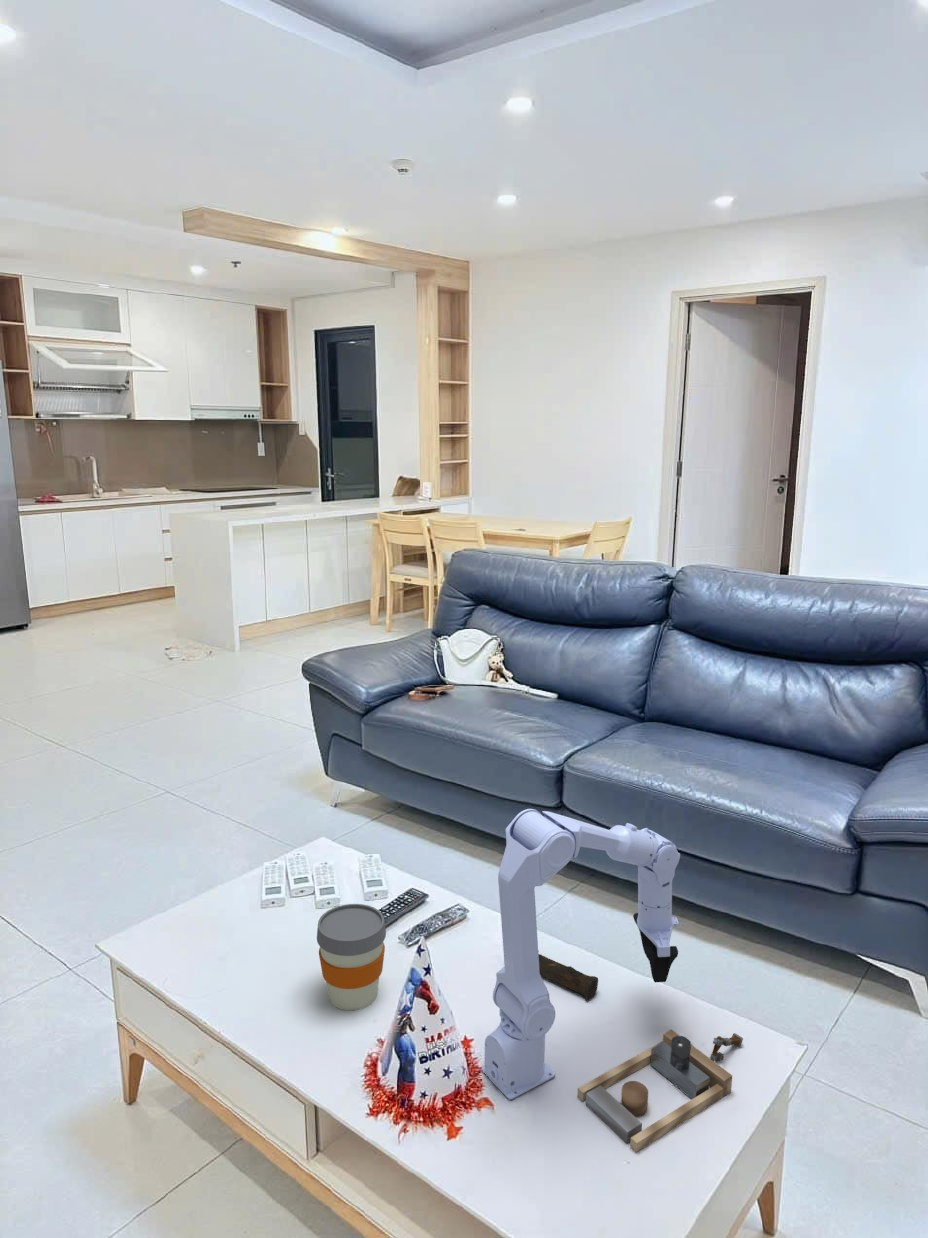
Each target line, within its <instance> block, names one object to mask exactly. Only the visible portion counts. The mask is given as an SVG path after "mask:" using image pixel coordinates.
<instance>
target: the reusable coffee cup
mask: <svg viewBox="0 0 928 1238" xmlns="http://www.w3.org/2000/svg"><path fill="white" fill-rule="evenodd" d="M386 937H387V929H386V921H385V917H384V915H383V913H382V912H381V911H380V910H379V909H377V908H376V907H374V906H371V905H368V904H362V903H347V904H342V905H337V906H334V907H332V908H330V909H328V910H327V911H325V912H324V913H322V915H320V917H319V920H318V922H317V930H316V941H317V944H318V946H319V949H318V956H319V962H320V966H321V967H320V969H321V974H322V978H323V980H324V981H325V984H326V986H327V987H326V988H327V994H328V999H329V1003H331V1004H332V1006H334V1007H336V1008H338V1009H341V1010H346V1011H355V1010H356V1011H357V1010H361V1009H364V1008H366V1007H368V1006H370V1005H371V1004H372V1003H374V1001H375V1000H376V998H377V997H378V989H379V981H380V977H381V975H382V972H383V968H384V959H385V951H386V949H385V948H386V946H385V943H384V941H385V939H386Z"/></svg>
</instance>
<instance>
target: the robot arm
mask: <svg viewBox="0 0 928 1238" xmlns="http://www.w3.org/2000/svg"><path fill="white" fill-rule="evenodd" d="M542 813H543V814H542ZM542 813H541V812H540V811H538V810H537V809H536V808H535V809H533V808H527V809H524V810H522V811H520V812H519V813H518V814H516V816H515V817H514V818H513V819H512V821H511V822H510V823H509V824H508V825H507V827H505V830H504V831H505V832H504V833H505V842H506V843H505V844H506V845H505V849H504V853H503V855H502V859H501V862H500V866H499V870H498V873H497V874H498V875H497V876H498V877H497V879H498V880H497V881H498V883H497V884H498V895H499V907H500V921H501V934H502V947H503V960H504V961H503V962H504V963H503V964H504V967H502V968H500V969H499V970H498V971H497V972H496V974H495V977H496V980H495V981H496V983H495V985H494V988H493V991H492V1000H493V1003H494V1004H495V1006H496V1007H498V1009H499V1017H500V1023H499V1025H498V1026H497V1027H496V1028H495V1029H494V1031H492V1032H491V1033H489V1034H488V1035H487V1036H486V1038H485V1040H484V1065H483V1066H481V1071H482V1070H483V1071H482V1073H483V1074H484V1073H485V1074H486V1075H485V1074H484V1075H485V1076H486V1077H487V1076H488V1077H489V1078H488V1077H487V1078H488V1079H489V1080H490V1081H491V1083H493V1084H494V1085H495V1086H496V1088H498V1089H499V1091H500V1092H501V1093H502V1094H503V1095H504V1096H505V1097H506V1099H508V1100H513V1099H515V1098H518V1097H519V1096H521V1095H523V1094H525V1093H526V1092H528V1091H530V1090H532V1089H534V1088H537V1086H539V1085H542V1084H543V1083H545V1082H547V1081H549V1080H551V1079H553V1078H554V1077H556V1072H555V1071H554V1070H553V1069H552V1068H551V1067H550V1066H549V1065H548V1064H547V1063H546V1062H545V1057H546V1055H545V1052H546V1034H547V1033H549V1031H550V1030H551V1028H552V1026H553V1025H554V1022H555V1019H556V1009H555V1007H554V1005H553V1004H552V1002H551V999H550V992H549V990H548V987H547V986H546V984H545V982H544V979H543V978H542V975H540V972H539V955H538V954H539V952H538V951H539V942H538V927H537V925H538V924H537V910H536V909H537V908H536V892H535V889H536V887H542V886H543V885H544V884H545V883H547V882H548V881H549V880H550V879H551V878H552V877H554V876H555V875H556V874H557V873H558V872H560V871H561V870H562V869H564V867H566V866H567V864H568V863H569V862H570V861H571V859H572V858H573V859H576V858H577V857H578V855H579V852H580V849H581V847H582V848H586V849H593V850H598V851H599V850H601V851H605V853H606V854H607V856H608V857H609V859H611V860H613V861H617V862H621V863H626V864H630V865H634V866H637V905H638V906H637V911H638V912H635V913H633V915H632V916H633V920H634V922H635V924H636V925H637V928H638V931H639V935H640V939H641V944H642V945H641V946H642V949H643V952H644V954H645V956H646V958H647V959H648V962H649V965H650V972H651V977H652V980H653V982H654V983H666V981H667V979H668V976H669V974H670V973H669V972H670V969H671V966H672V965H673V962H674V961H675V960H676V959H677V957H678V955H679V949H678V948H677V945H670V941H671V937H672V934H673V928H677V927H679V926H680V925H679V924H680V923H679V920H678V918H677V916H673V915H672V914H673V911H672V910H673V908H672V907H673V880H674V877H675V876H676V874H675V873H676V868H677V867H678V864H679V863H680V859H681V853H679V852H678V848H677V846H676V845H675V842H673V841H671V840H669V839H668V838H665V837H664V836H662V835H660V834H659V833H657V832H655V830H651V829H650V828H649V827H645V828H642V829H638V827H637V826H635V825H634V824H632V823H628V822H627V823H625V825H620V824H618V825H617V824H616V825H614V826H612V827H611V828H610V829H607V828H604V827H601V826H597V825H594V824H592V823H588V822H585V821H582V820H578V819H577V818H576V819H575V818H572V817H569V816H565V815H563V814H562V815H561V814H558V813H555V812H553V811H552V812H551V811H547V810H546V811H545V810H544V811H543V810H542ZM543 815H544V816H543Z"/></svg>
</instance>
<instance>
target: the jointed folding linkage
mask: <svg viewBox="0 0 928 1238" xmlns="http://www.w3.org/2000/svg"><path fill="white" fill-rule="evenodd" d="M743 1040H744V1038H743V1037H742V1036H740V1035H739V1034H737V1033H736V1032H733V1033H732V1036H731V1037H729V1038H728V1037H722V1036H720V1035H719V1036H716V1037H713V1041H712V1044H713V1049H712V1052H711V1053H710V1056H709V1058H710V1059H711V1060H713V1061H714V1062H715V1063H716V1060H717V1061H719V1062H720V1061H721V1060H723V1059H724V1056H725V1054H724V1053H723V1052H721V1051H720V1048H721V1047H723V1046H724V1047H731V1046H734V1047H736V1048H738V1049H741V1047H742V1043H743Z"/></svg>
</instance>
